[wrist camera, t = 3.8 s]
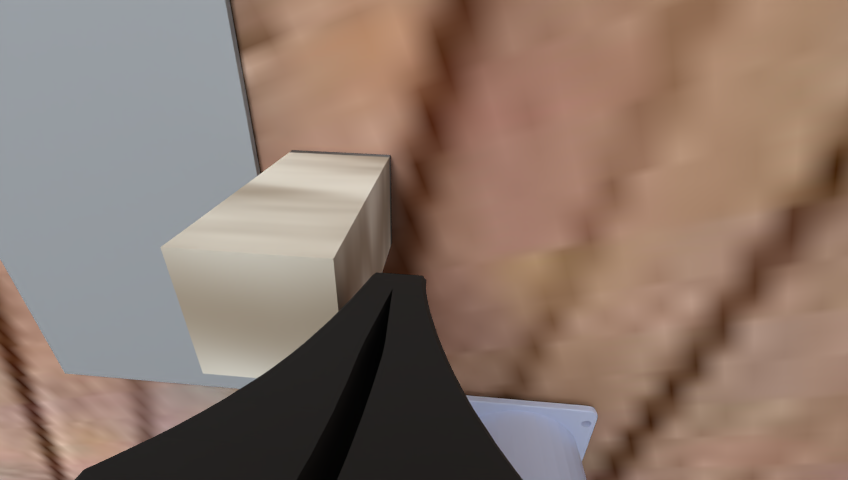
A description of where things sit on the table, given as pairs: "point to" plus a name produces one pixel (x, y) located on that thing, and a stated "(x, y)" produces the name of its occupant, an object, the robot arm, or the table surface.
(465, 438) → the robot arm
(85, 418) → the table surface
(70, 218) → the mat
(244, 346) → the birch block
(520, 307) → the table surface
